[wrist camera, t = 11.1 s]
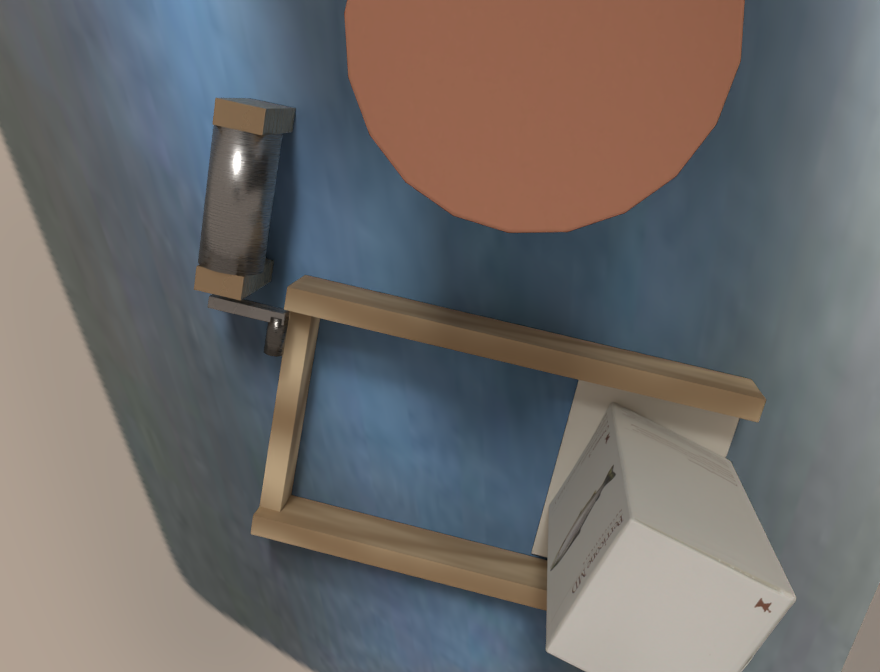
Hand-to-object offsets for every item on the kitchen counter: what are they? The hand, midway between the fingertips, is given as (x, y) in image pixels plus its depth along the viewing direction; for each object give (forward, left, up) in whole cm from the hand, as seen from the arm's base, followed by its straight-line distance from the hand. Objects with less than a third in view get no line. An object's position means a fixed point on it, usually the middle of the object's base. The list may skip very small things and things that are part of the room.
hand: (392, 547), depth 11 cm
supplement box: (+12, +10, -31) cm, 34 cm away
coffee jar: (-8, 0, -31) cm, 32 cm away
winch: (+2, -12, -31) cm, 33 cm away
